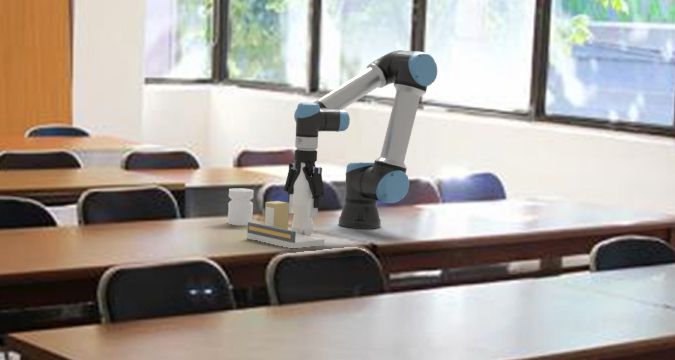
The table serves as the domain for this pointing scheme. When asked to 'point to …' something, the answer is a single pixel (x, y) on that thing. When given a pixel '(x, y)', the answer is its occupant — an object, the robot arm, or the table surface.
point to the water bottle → (302, 205)
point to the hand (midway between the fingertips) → (302, 215)
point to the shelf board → (281, 236)
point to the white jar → (240, 206)
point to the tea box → (277, 214)
